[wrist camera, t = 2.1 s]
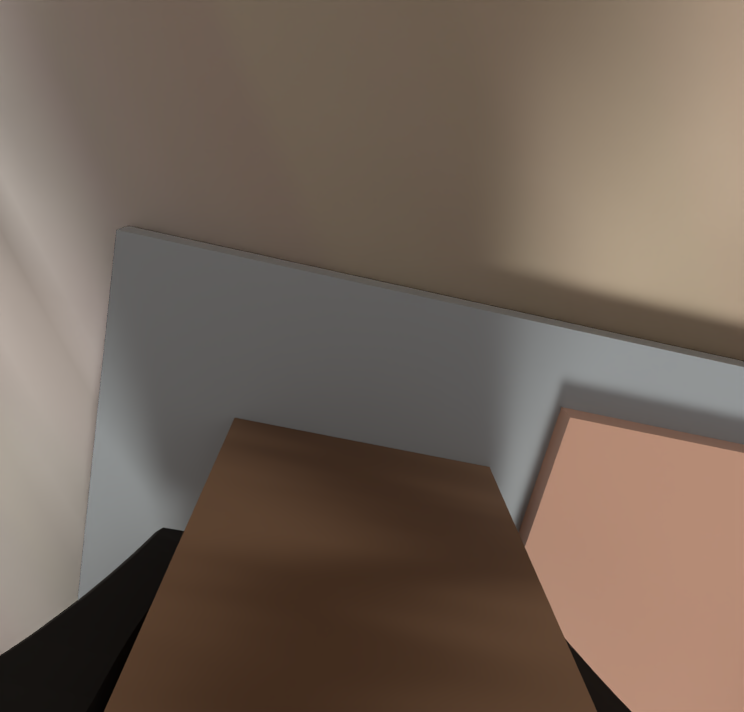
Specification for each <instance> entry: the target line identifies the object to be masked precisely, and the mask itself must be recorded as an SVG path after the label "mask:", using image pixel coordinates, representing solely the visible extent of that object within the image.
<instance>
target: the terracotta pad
mask: <svg viewBox="0 0 744 712" xmlns="http://www.w3.org/2000/svg"><path fill="white" fill-rule="evenodd" d="M518 533H519V535H520V538H521V540H522V542H523V544H524V547H525V549H526V551H527V553H528V556H529V558H530V560H531V563H532V565H533V567H534V569H535V572H536V574H537V576H538V578H539V581H540V583H541V585H542V588H543V590H544V592H545V594H546V597H547V599H548V601H549V603H550V606H551V608H552V610H553V613H554V615H555V617H556V619H557V622H558V624H559V626H560V628H561V631H562V633H563V635H564V638H565V639H566V640H567V641H568V642H569V644H570V645H571V646H572V647H573V648H574V649H575V650H576V652H577V653H578V654H579V655H580V656H581V657H582V658H583V660H584V661H585V662H586V663H587V664H588V665H589V666H590V667H591V669H592V670H593V671H594V672H595V673H596V674H597V675H598V676H599V677H600V679H601V680H602V681H603V682H604V683H605V684H606V685H607V686H608V687H609V688H610V689H611V690H612V692H613V693H614V694H615V695H616V696H617V697H618V698H619V699H620V700H621V701H622V702H623V703H624V704H625V705H626V706H627V707H628V708H629V709H630V710H631V711H632V712H744V444H739V443H734V442H729V441H724V440H719V439H715V438H710V437H705V436H700V435H695V434H690V433H685V432H681V431H676V430H671V429H666V428H661V427H656V426H651V425H647V424H642V423H637V422H632V421H627V420H622V419H617V418H613V417H608V416H603V415H598V414H593V413H588V412H583V411H579V410H574V409H569V408H564V407H561V410H560V413H559V415H558V418H557V421H556V424H555V427H554V430H553V433H552V436H551V439H550V442H549V445H548V448H547V450H546V453H545V456H544V459H543V462H542V465H541V468H540V471H539V474H538V477H537V480H536V483H535V486H534V488H533V491H532V494H531V497H530V500H529V503H528V506H527V509H526V512H525V515H524V518H523V521H522V524H521V526H520V529H519V532H518Z"/></svg>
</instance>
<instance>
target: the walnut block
mask: <svg viewBox="0 0 744 712" xmlns="http://www.w3.org/2000/svg"><path fill="white" fill-rule="evenodd" d="M104 712H597V710H596V708H595V706H594V703H593V701H592V699H591V697H590V694H589V692H588V690H587V688H586V685H585V683H584V681H583V678H582V676H581V674H580V672H579V669H578V667H577V665H576V663H575V660H574V658H573V656H572V653H571V651H570V649H569V647H568V644H567V642H566V640H565V638H564V635H563V633H562V631H561V628H560V626H559V624H558V622H557V619H556V617H555V615H554V613H553V610H552V608H551V606H550V603H549V601H548V599H547V597H546V594H545V592H544V590H543V588H542V585H541V583H540V581H539V578H538V576H537V574H536V572H535V569H534V567H533V565H532V563H531V560H530V558H529V556H528V553H527V551H526V549H525V547H524V544H523V542H522V540H521V538H520V535H519V533H518V531H517V528H516V526H515V524H514V522H513V519H512V517H511V515H510V513H509V510H508V508H507V506H506V503H505V501H504V499H503V497H502V494H501V492H500V490H499V488H498V485H497V483H496V481H495V478H494V476H493V474H492V472H491V469H490V467H487V466H482V465H477V464H471V463H466V462H461V461H456V460H451V459H446V458H440V457H435V456H430V455H425V454H420V453H415V452H410V451H404V450H399V449H394V448H389V447H384V446H379V445H373V444H368V443H363V442H358V441H353V440H348V439H342V438H337V437H332V436H327V435H322V434H317V433H312V432H306V431H301V430H296V429H291V428H286V427H281V426H275V425H270V424H265V423H260V422H255V421H250V420H245V419H239V418H234V420H233V422H232V425H231V427H230V429H229V431H228V434H227V436H226V438H225V440H224V443H223V445H222V447H221V449H220V452H219V454H218V456H217V458H216V461H215V463H214V465H213V467H212V470H211V472H210V474H209V476H208V479H207V481H206V483H205V485H204V488H203V490H202V492H201V494H200V497H199V499H198V501H197V503H196V506H195V508H194V510H193V512H192V515H191V517H190V519H189V521H188V524H187V526H186V528H185V530H184V533H183V535H182V537H181V539H180V542H179V544H178V546H177V548H176V551H175V553H174V555H173V557H172V560H171V562H170V564H169V566H168V569H167V571H166V573H165V575H164V578H163V580H162V582H161V584H160V587H159V589H158V591H157V593H156V596H155V598H154V600H153V602H152V605H151V607H150V609H149V611H148V614H147V616H146V618H145V620H144V623H143V625H142V627H141V629H140V632H139V634H138V636H137V638H136V641H135V643H134V645H133V647H132V650H131V652H130V654H129V656H128V659H127V661H126V663H125V665H124V668H123V670H122V672H121V674H120V677H119V679H118V681H117V683H116V686H115V688H114V690H113V692H112V695H111V697H110V699H109V701H108V704H107V706H106V708H105V710H104Z"/></svg>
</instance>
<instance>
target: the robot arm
mask: <svg viewBox="0 0 744 712" xmlns="http://www.w3.org/2000/svg"><path fill="white" fill-rule="evenodd" d="M183 533H184V531H181V530H175V529H170V528H164V527H163V528H161V529H159V530H158V531H156V532H155V533H154V534H153V535H152V536H151V537H150V538H149V539H148V540H147V541H146V542H145V543H144V544H143V545H142V546H140V547H139V548H138V549H137V550H136V551H135V552H134V553H133V554H132V555H131V556H130V557H129V558H127V559H126V560H125V561H124V562H123V563H122V564H121V565H120V566H118V567H117V568H116V569H115V570H114V571H113V572H112V573H110V574H109V575H108V576H107V577H106V578H104V579H103V580H102V581H101V582H100V583H98V584H97V585H96V586H95V587H93V588H92V589H91V590H90V591H89V592H87V593H86V594H85V595H84V596H83V597H81V598H80V599H79V600H78V601H76V602H75V603H74V604H72V605H71V606H70V607H68V608H67V609H66V610H64V611H63V612H62V613H60V614H59V615H58V616H56V617H55V618H53V619H52V620H51V621H49V622H48V623H47V624H45V625H44V626H43V627H41V628H40V629H39V630H37V631H36V632H34V633H33V634H32V635H30V636H29V637H27V638H26V639H24V640H23V641H21V642H20V643H18V644H17V645H16V646H14V647H12V648H11V649H9V650H8V651H6V652H5V653H3V654H2V655H0V712H104V710H105V708H106V706H107V704H108V701H109V699H110V697H111V695H112V692H113V690H114V688H115V686H116V683H117V681H118V679H119V677H120V674H121V672H122V670H123V668H124V665H125V663H126V661H127V659H128V656H129V654H130V652H131V650H132V647H133V645H134V643H135V641H136V638H137V636H138V634H139V632H140V629H141V627H142V625H143V623H144V620H145V618H146V616H147V614H148V611H149V609H150V607H151V605H152V602H153V600H154V598H155V596H156V593H157V591H158V589H159V587H160V584H161V582H162V580H163V578H164V575H165V573H166V571H167V569H168V566H169V564H170V562H171V560H172V557H173V555H174V553H175V551H176V548H177V546H178V544H179V542H180V539H181V537H182V535H183ZM565 640H566V639H565ZM566 642H567V644H568V647H569V649H570V651H571V653H572V656H573V658H574V660H575V663H576V665H577V667H578V669H579V672H580V674H581V676H582V678H583V681H584V683H585V685H586V688H587V690H588V692H589V694H590V697H591V699H592V701H593V703H594V706H595V708H596V710H597V712H632V711H631V710H630V709H629V708H628V707H627V706H626V705H625V704H624V703H623V702H622V701H621V700H620V699H619V698H618V697H617V696H616V695H615V694H614V693H613V692H612V690H611V689H610V688H609V687H608V686H607V685H606V684H605V683H604V682H603V681H602V680H601V679H600V677H599V676H598V675H597V674H596V673H595V672H594V671H593V670H592V669H591V667H590V666H589V665H588V664H587V663H586V662H585V661H584V660H583V658H582V657H581V656H580V655H579V654H578V653H577V652H576V650H575V649H574V648H573V647H572V646H571V645H570V644H569V642H568V641H567V640H566Z"/></svg>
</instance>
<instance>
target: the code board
mask: <svg viewBox="0 0 744 712" xmlns="http://www.w3.org/2000/svg"><path fill="white" fill-rule="evenodd" d="M561 407H564V408H569V409H574V410H579V411H583V412H588V413H593V414H598V415H603V416H608V417H613V418H617V419H622V420H627V421H632V422H637V423H642V424H647V425H651V426H656V427H661V428H666V429H671V430H676V431H681V432H685V433H690V434H695V435H700V436H705V437H710V438H715V439H719V440H724V441H729V442H734V443H739V444H744V361H740V360H736V359H731V358H727V357H722V356H718V355H713V354H709V353H704V352H699V351H695V350H690V349H686V348H681V347H677V346H672V345H668V344H663V343H659V342H654V341H649V340H645V339H640V338H636V337H631V336H627V335H622V334H618V333H613V332H608V331H604V330H599V329H595V328H590V327H586V326H581V325H577V324H572V323H568V322H563V321H558V320H554V319H549V318H545V317H540V316H536V315H531V314H527V313H522V312H518V311H513V310H508V309H504V308H499V307H495V306H490V305H486V304H481V303H477V302H472V301H468V300H463V299H458V298H454V297H449V296H445V295H440V294H436V293H431V292H427V291H422V290H418V289H413V288H408V287H404V286H399V285H395V284H390V283H386V282H381V281H377V280H372V279H367V278H363V277H358V276H354V275H349V274H345V273H340V272H336V271H331V270H327V269H322V268H317V267H313V266H308V265H304V264H299V263H295V262H290V261H286V260H281V259H277V258H272V257H267V256H263V255H258V254H254V253H249V252H245V251H240V250H236V249H231V248H227V247H222V246H217V245H213V244H208V243H204V242H199V241H195V240H190V239H186V238H181V237H177V236H172V235H167V234H163V233H158V232H154V231H149V230H145V229H140V228H136V227H131V226H127V227H123V228H120V229H117V230H116V239H115V248H114V258H113V267H112V277H111V286H110V296H109V306H108V315H107V325H106V334H105V344H104V353H103V363H102V372H101V382H100V392H99V401H98V411H97V420H96V430H95V439H94V449H93V458H92V468H91V478H90V487H89V497H88V506H87V516H86V525H85V535H84V544H83V554H82V564H81V573H80V583H79V592H78V600H79V599H80V598H81V597H83V596H84V595H85V594H86V593H87V592H89V591H90V590H91V589H92V588H93V587H95V586H96V585H97V584H98V583H100V582H101V581H102V580H103V579H104V578H106V577H107V576H108V575H109V574H110V573H112V572H113V571H114V570H115V569H116V568H117V567H118V566H120V565H121V564H122V563H123V562H124V561H125V560H126V559H127V558H129V557H130V556H131V555H132V554H133V553H134V552H135V551H136V550H137V549H138V548H139V547H140V546H142V545H143V544H144V543H145V542H146V541H147V540H148V539H149V538H150V537H151V536H152V535H153V534H154V533H155V532H156V531H158V530H159V529H161V528H163V527H164V528H170V529H175V530H181V531H184V530H185V528H186V526H187V524H188V521H189V519H190V517H191V515H192V512H193V510H194V508H195V506H196V503H197V501H198V499H199V497H200V494H201V492H202V490H203V488H204V485H205V483H206V481H207V479H208V476H209V474H210V472H211V470H212V467H213V465H214V463H215V461H216V458H217V456H218V454H219V452H220V449H221V447H222V445H223V443H224V440H225V438H226V436H227V434H228V431H229V429H230V427H231V425H232V422H233V420H234V418H239V419H245V420H250V421H255V422H260V423H265V424H270V425H275V426H281V427H286V428H291V429H296V430H301V431H306V432H312V433H317V434H322V435H327V436H332V437H337V438H342V439H348V440H353V441H358V442H363V443H368V444H373V445H379V446H384V447H389V448H394V449H399V450H404V451H410V452H415V453H420V454H425V455H430V456H435V457H440V458H446V459H451V460H456V461H461V462H466V463H471V464H477V465H482V466H487V467H490V469H491V472H492V474H493V476H494V478H495V481H496V483H497V485H498V488H499V490H500V492H501V494H502V497H503V499H504V501H505V503H506V506H507V508H508V510H509V513H510V515H511V517H512V519H513V522H514V524H515V526H516V528H517V531H518V532H519V529H520V526H521V524H522V521H523V518H524V515H525V512H526V509H527V506H528V503H529V500H530V497H531V494H532V491H533V488H534V486H535V483H536V480H537V477H538V474H539V471H540V468H541V465H542V462H543V459H544V456H545V453H546V450H547V448H548V445H549V442H550V439H551V436H552V433H553V430H554V427H555V424H556V421H557V418H558V415H559V413H560V410H561Z"/></svg>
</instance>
